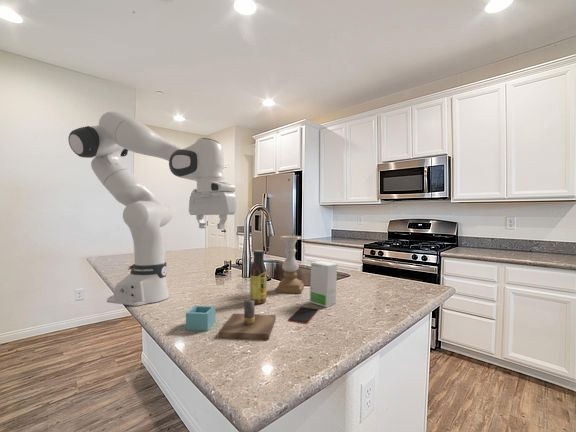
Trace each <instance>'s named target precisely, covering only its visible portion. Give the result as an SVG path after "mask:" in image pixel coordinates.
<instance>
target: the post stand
mask: <svg viewBox="0 0 576 432" xmlns="http://www.w3.org/2000/svg"><path fill="white" fill-rule="evenodd" d="M243 305H244V307H243V309H244V311H243V313H232V315H231V316H230V317H229V318H228V319H227V321H226V322H225V323H224V324H223V326H222V327H221V329H220V330H219V331H218V338H225V339H226V338H228V339H229V338H231V339H248V340H249V339H251V340H269V339H270V336H271V333H272V331H273V328H274V325H275V322H276V320H277V319H276V314H257V313H256V314H255V304H254V300H251V299H247V300H246V299H245V300H244V303H243Z"/></svg>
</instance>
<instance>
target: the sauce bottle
mask: <svg viewBox="0 0 576 432" xmlns="http://www.w3.org/2000/svg"><path fill="white" fill-rule="evenodd" d="M264 254H265V251H264V250H263V249H257V250H253V262H252V263H253V264H252V265H251V266H250V277H249V278H250V283H249V287H250V290H249V293H250V294H249V295H250V296H249V297H250V300H254V305H260V304H264V303H266V302H267V284H268V283H267V280H268V279H267V273H268V272H267V269H266V265H265V262H264Z"/></svg>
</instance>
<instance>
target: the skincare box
mask: <svg viewBox="0 0 576 432" xmlns="http://www.w3.org/2000/svg"><path fill="white" fill-rule="evenodd" d="M337 275H338V263H334V262H330V261H324V260H316V261H313V262H310V282H309V283H310V284H309V287H310V288H309V303H311V304H314V305H318V306H320V307H325V308H328V307H330V306H333V305H335V304H336V300H337V283H338V282H337Z"/></svg>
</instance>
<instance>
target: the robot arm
mask: <svg viewBox="0 0 576 432" xmlns="http://www.w3.org/2000/svg"><path fill="white" fill-rule="evenodd" d="M98 121H99V122H98V124H97V125H90V126H89V125H86V126H81V127H78V128H75V129H73V130H72V131H70V133H69V134H68V138H67V139H68V144H69V147H70V149H71V151H72V152H74V154H76V155H77V156H78V157H79V158H80V157H81V158H86V159H87V158H89V159H91V158H92V160H91V161H90V167H91V169H92V171H93V173H94V175H95V176H96V177H97V179H98V180H99V182H100V183H101V184H102V185H103V186H104V188H105V189H106V190H107V191H108V193H109V194H111V196H113V198H114V199H115V200H116V202H118V203H120V204H122V205H123V206H125V207H124V209H123V212H122V219H123V222H124V223H125V224H126V226H128V228H129V230H130V234H131V237H132V241H133V250H134V263H133V264H132V265H130V266H128V269H127V270H130V272H129V274H128V275H127V276H125V277H124V278H122V279H121V280H120V281H119V282H118V283H117V284H116V285H115V286H114V290H113V295H111V296H109V297H107V299H106V303H110V304H118V305H125V306H133V307H138V306H142V305H145V304H146V305H147V304H152V303H158V302H162V301H164V300H166V299H168V298H170V296H171V295H170V291H169V288H168V283H167V277H166V276H167V273H168V271H167V270H168V269H167V262H166V243H165V241H164V238H163V237H162V233H161V229H160V228H162V227H164V226H166V225H167V224H169V222H170V221H172V218H173V212H172V209H171V207H170V206H168V205H167V204H166V203H164V202H163V201H162V200H161V199H159V198H158V197H157V195H155V193H153V192H152V191H151V190H149V189H148V188H147V187H146V186H145V185H144V184H142V182H141V181H140V180H139V179H138V178H137V177H136V176H135V175H134V174H133V172H132V171H131V170H130V169H129V168H128V167H127V166H126V165H125V164H124V162H123V160H122V157H126V156H127V155H128V152H132V153H135V154H140V155H144V156H148V157H154V158H158V159H162V160H165V161H168V166H169V167H168V169H169V170H170V172H171V174H173V175H174V176H175V177H178V178H182V179H185V180H190V181H195V182H196V188H194V189H193V190H192V191H191V193H190V195H189V200H188V201H189V202H188V214H189V215H190V216H196V220H197V223H198V228H199V229H206V228H207V227H206V222H205V221H204V219H205V216H218V217H219V223H217V225H216V226H217V230H225V226H226V225H225V224H226V221H227V219H228V216H233V215H235V213H236V212H237V201H236V200H237V199H236V198H237V197H236V195H235V193H234V192H236V186H235V185H234V184H231V183H228V182H225V177H224V173H223V171H224V166H225V165H224V164H225V163H224V152H223V147H222V144H221V143H220V142H219V141H217V140H215V139H212V138H207V137H200V138H198V139H197V140H196V141H195V142H194V143H193V144H191V145H189V146H187V147H183V148H180V147H178V146H176V145H175V144H173V143H171V142H169V141H168V140H166V138H163V137H162V135H160V134H158V133H157V132H155V131H154V130H153V129H151V128H150V127H149V126H147V125H145V124H144V123H142V121H140V120H137V119H135V118H134V117H132V116H129V115H127V114H124V113H121V112H116V111H107V112H105V113H103V114H102V115H100V118H99V120H98Z"/></svg>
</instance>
